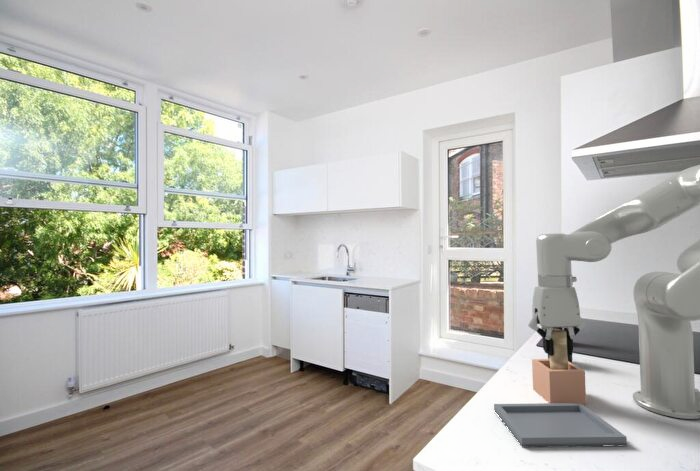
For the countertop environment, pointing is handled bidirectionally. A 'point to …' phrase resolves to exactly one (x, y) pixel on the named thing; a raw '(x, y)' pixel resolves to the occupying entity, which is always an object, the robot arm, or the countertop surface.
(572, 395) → the deep cup
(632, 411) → the countertop surface
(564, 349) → the dowel
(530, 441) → the tray
